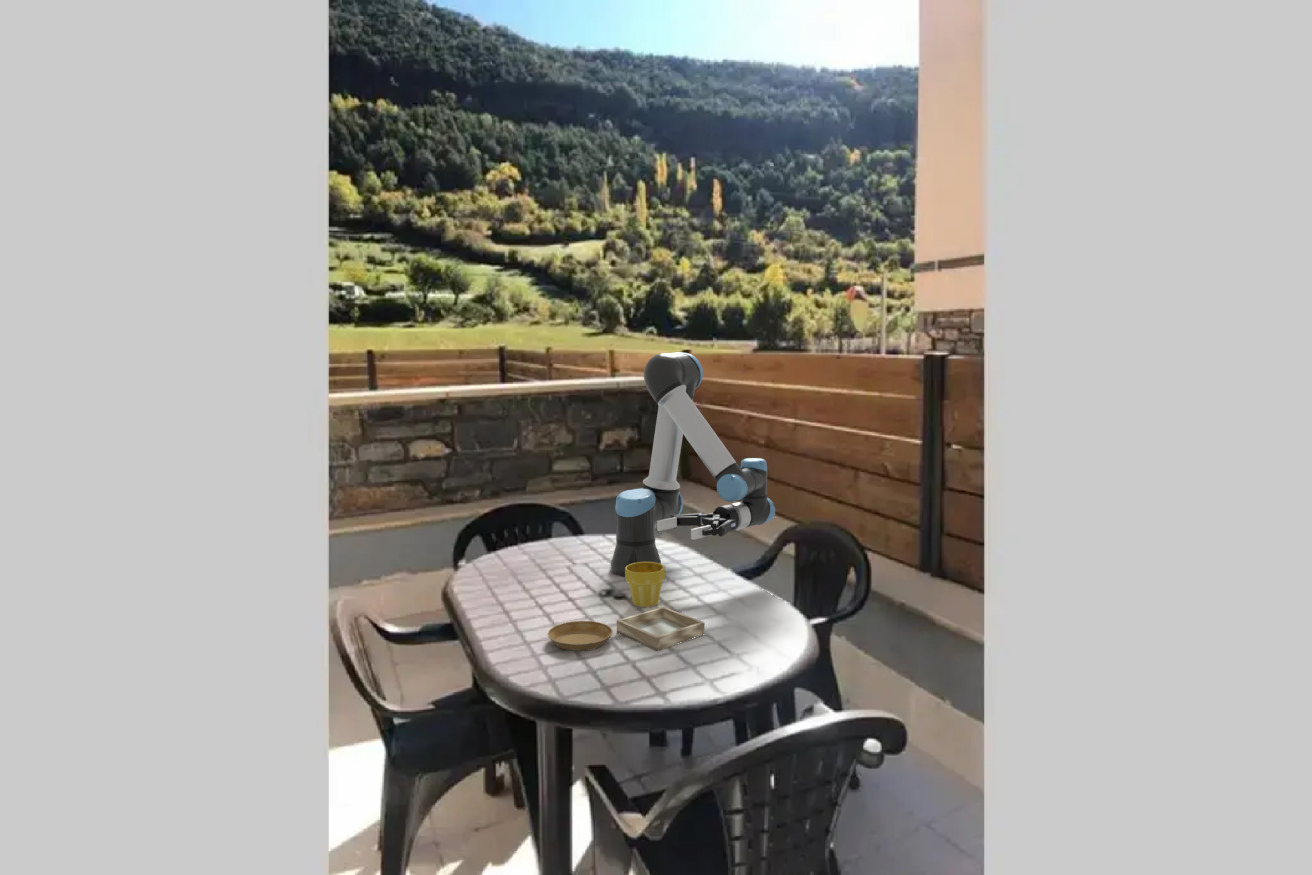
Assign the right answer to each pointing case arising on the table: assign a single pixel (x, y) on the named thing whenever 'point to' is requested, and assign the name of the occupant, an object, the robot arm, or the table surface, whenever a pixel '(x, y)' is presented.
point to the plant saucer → (580, 635)
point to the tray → (660, 628)
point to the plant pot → (645, 582)
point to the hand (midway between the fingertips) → (674, 530)
